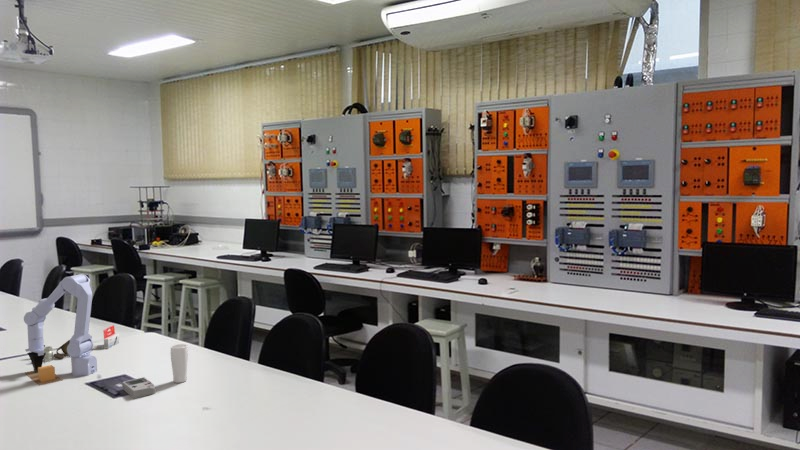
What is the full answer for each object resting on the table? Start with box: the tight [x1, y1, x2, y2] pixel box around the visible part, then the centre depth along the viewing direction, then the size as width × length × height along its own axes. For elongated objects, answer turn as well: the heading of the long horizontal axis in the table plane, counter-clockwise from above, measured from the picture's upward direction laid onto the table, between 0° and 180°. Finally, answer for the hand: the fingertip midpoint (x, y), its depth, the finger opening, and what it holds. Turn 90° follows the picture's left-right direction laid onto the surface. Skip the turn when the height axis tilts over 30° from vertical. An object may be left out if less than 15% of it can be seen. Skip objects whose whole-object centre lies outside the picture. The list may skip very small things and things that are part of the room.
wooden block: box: [24, 362, 64, 386], centre depth 250 cm, size 24×9×7 cm, turn 45°
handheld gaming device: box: [121, 377, 156, 399], centre depth 234 cm, size 9×14×4 cm, turn 41°
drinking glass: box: [170, 343, 189, 384], centre depth 246 cm, size 7×7×15 cm
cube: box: [38, 364, 56, 382], centre depth 246 cm, size 5×5×5 cm
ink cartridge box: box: [102, 325, 120, 350], centre depth 302 cm, size 2×11×10 cm, turn 179°
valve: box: [43, 344, 54, 363], centre depth 279 cm, size 7×7×12 cm
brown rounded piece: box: [52, 339, 70, 360], centre depth 285 cm, size 7×13×10 cm
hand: (37, 368), depth 257 cm, fingers closed on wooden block, 2 cm apart
